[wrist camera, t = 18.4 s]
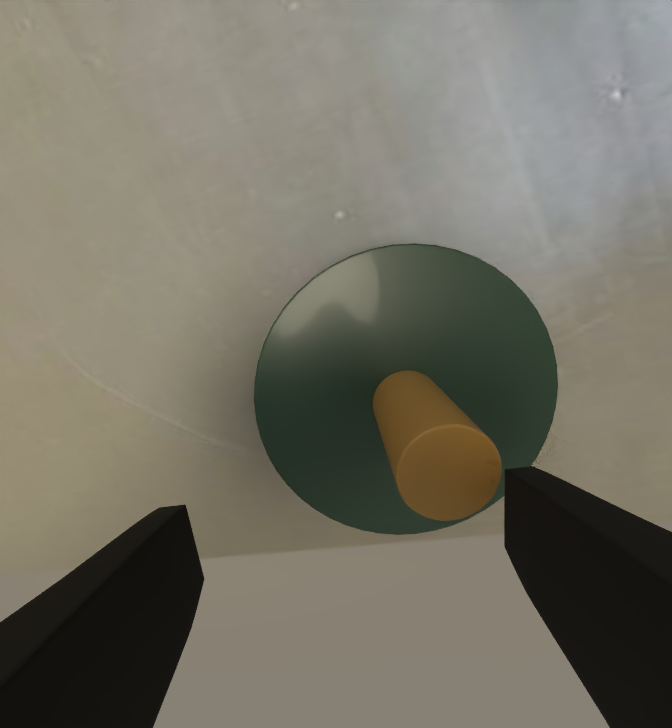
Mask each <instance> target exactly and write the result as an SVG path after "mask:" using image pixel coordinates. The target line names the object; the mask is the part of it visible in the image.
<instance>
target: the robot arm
mask: <svg viewBox="0 0 672 728" xmlns="http://www.w3.org/2000/svg"><path fill="white" fill-rule="evenodd" d="M505 548H506V551H507V553H508V555H509V557H510V559H511V562H512V564H513V566H514V568H515V570H516V572H517V574H518V577H519V579H520V580H521V582H522V585H523V587H524V589H525V591H526V592H527V594H528V596H529V598H530V599H531V601H532V603H533V604H534V606H535V608H536V609H537V611H538V613H539V614H540V616H541V617H542V619H543V621H544V622H545V624H546V625H547V627H548V629H549V630H550V632H551V633H552V635H553V637H554V638H555V640H556V642H557V643H558V645H559V646H560V648H561V649H562V651H563V653H564V654H565V656H566V657H567V659H568V661H569V662H570V664H571V665H572V667H573V669H574V670H575V672H576V674H577V675H578V677H579V678H580V680H581V682H582V683H583V685H584V686H585V688H586V690H587V691H588V693H589V694H590V696H591V698H592V699H593V701H594V702H595V704H596V706H597V707H598V709H599V710H600V712H601V714H602V715H603V717H604V718H605V720H606V722H607V723H608V725H609V727H610V728H672V532H670V531H668V530H666V529H664V528H662V527H659V526H657V525H655V524H653V523H651V522H649V521H646V520H644V519H642V518H640V517H638V516H636V515H634V514H632V513H629V512H627V511H625V510H623V509H621V508H619V507H617V506H615V505H613V504H611V503H609V502H607V501H605V500H603V499H601V498H599V497H597V496H594V495H592V494H590V493H588V492H586V491H584V490H582V489H580V488H578V487H576V486H574V485H572V484H570V483H568V482H566V481H564V480H562V479H560V478H558V477H556V476H553V475H551V474H549V473H547V472H545V471H542V470H540V469H538V468H535V467H532V466H530V467H521V468H512V469H505ZM203 581H204V576H203V572H202V568H201V564H200V560H199V556H198V552H197V548H196V544H195V540H194V536H193V532H192V528H191V524H190V520H189V516H188V512H187V508H186V505H178V506H169V507H160V508H158V509H156V510H155V511H153V512H151V513H150V514H148V515H147V516H145V517H144V518H143V519H141V520H140V521H138V522H137V523H136V524H134V525H133V526H132V527H130V528H129V529H127V530H126V531H125V532H123V533H122V534H121V535H119V536H118V537H117V538H115V539H114V540H113V541H111V542H110V543H109V544H108V545H106V546H105V547H104V548H102V549H101V550H100V551H98V552H97V553H96V554H94V555H93V556H92V557H90V558H89V559H88V560H86V561H85V562H84V563H82V564H81V565H80V566H78V567H77V568H76V569H74V570H73V571H72V572H70V573H69V574H68V575H66V576H65V577H63V578H62V579H61V580H59V581H58V582H57V583H55V584H54V585H52V586H51V587H49V588H48V589H47V590H45V591H44V592H42V593H41V594H40V595H38V596H37V597H35V598H34V599H33V600H31V601H30V602H28V603H27V604H26V605H24V606H23V607H21V608H20V609H19V610H17V611H16V612H14V613H13V614H11V615H10V616H9V617H8V618H6V619H4V620H3V621H2V622H0V728H153V726H154V723H155V721H156V718H157V715H158V713H159V710H160V708H161V705H162V703H163V700H164V698H165V695H166V692H167V690H168V687H169V685H170V682H171V680H172V677H173V675H174V672H175V669H176V667H177V664H178V662H179V659H180V657H181V654H182V651H183V649H184V646H185V644H186V641H187V638H188V636H189V633H190V630H191V627H192V623H193V620H194V617H195V613H196V610H197V605H198V602H199V598H200V594H201V590H202V586H203Z"/></svg>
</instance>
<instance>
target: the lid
mask: <svg viewBox="0 0 672 728" xmlns="http://www.w3.org/2000/svg"><path fill="white" fill-rule="evenodd" d="M557 389H558V379H557V364H556V359H555V354H554V349H553V345H552V342H551V339H550V337H549V334H548V331H547V328H546V326H545V324H544V322H543V321H542V319H541V317H540V315H539V313H538V311H537V310H536V308H535V307H534V305H533V304H532V303H531V301H530V300H529V298H528V297H527V296H526V294H525V293H524V292H523V291H522V290H521V289H520V288H519V287H518V286H517V285H516V284H515V283H514V282H513V281H512V280H511V279H509V278H508V277H507V276H505V275H504V274H503V273H502V272H500V271H499V270H498V269H496V268H495V267H493V266H491V265H489V264H488V263H486V262H484V261H482V260H480V259H479V258H477V257H474V256H472V255H469V254H466V253H464V252H461V251H458V250H455V249H450V248H446V247H441V246H437V245H426V244H398V245H389V246H384V247H379V248H374V249H370V250H367V251H364V252H361V253H358V254H355V255H352V256H350V257H348V258H346V259H344V260H342V261H340V262H338V263H336V264H334V265H331V266H330V267H329V268H327V269H326V270H324V271H323V272H321V273H320V274H318V275H317V276H315V277H314V278H312V279H311V280H310V281H309V282H308V283H307V284H306V285H305V286H303V287H302V288H301V289H300V290H299V291H298V292H297V293H296V294H295V295H294V296H293V298H292V299H291V300H290V301H289V302H288V303H287V305H286V306H285V307H284V308H283V310H282V311H281V313H280V314H279V316H278V317H277V319H276V320H275V322H274V324H273V325H272V327H271V329H270V331H269V334H268V336H267V338H266V340H265V342H264V345H263V348H262V351H261V354H260V357H259V360H258V365H257V371H256V377H255V386H254V405H255V414H256V421H257V425H258V429H259V433H260V437H261V440H262V442H263V445H264V447H265V450H266V452H267V455H268V457H269V458H270V460H271V462H272V464H273V465H274V467H275V469H276V471H277V472H278V473H279V475H280V476H281V477H282V479H283V480H284V481H285V482H286V484H287V485H288V486H289V487H290V488H291V489H292V490H293V491H294V492H295V493H296V494H297V495H298V496H299V497H300V498H301V499H302V500H304V501H305V502H306V503H307V504H309V505H310V506H311V507H312V508H314V509H315V510H317V511H319V512H320V513H322V514H324V515H325V516H327V517H329V518H331V519H333V520H335V521H338V522H340V523H342V524H344V525H347V526H350V527H354V528H357V529H360V530H364V531H370V532H375V533H382V534H398V535H399V534H417V533H423V532H429V531H435V530H438V529H442V528H445V527H449V526H452V525H455V524H457V523H459V522H462V521H464V520H467V519H469V518H471V517H473V516H475V515H476V514H478V513H480V512H482V511H484V510H485V509H487V508H488V507H490V506H491V505H492V504H494V503H495V502H497V501H498V500H499V499H501V498H502V497H503V496H504V495H505V469H512V468H521V467H530V466H531V465H532V464H533V462H534V461H535V459H536V458H537V456H538V454H539V452H540V450H541V448H542V446H543V444H544V442H545V440H546V438H547V435H548V432H549V430H550V427H551V424H552V421H553V416H554V412H555V407H556V401H557Z"/></svg>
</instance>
